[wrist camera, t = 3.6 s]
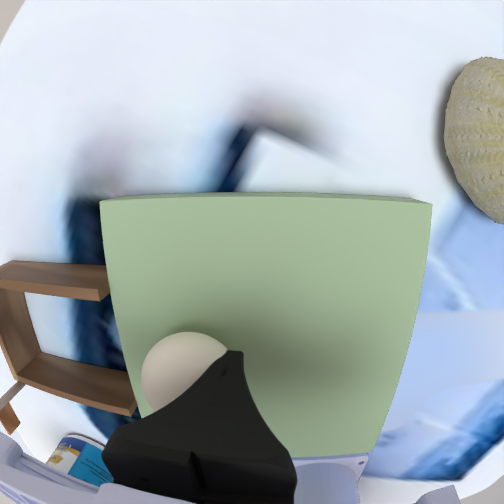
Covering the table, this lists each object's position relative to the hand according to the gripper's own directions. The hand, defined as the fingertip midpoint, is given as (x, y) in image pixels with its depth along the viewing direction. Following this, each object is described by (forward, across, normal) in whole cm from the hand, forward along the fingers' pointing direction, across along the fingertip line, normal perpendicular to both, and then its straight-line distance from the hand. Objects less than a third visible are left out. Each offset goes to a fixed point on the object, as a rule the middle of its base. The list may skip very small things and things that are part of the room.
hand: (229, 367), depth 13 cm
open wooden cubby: (+4, +11, +3) cm, 12 cm away
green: (+4, -1, +1) cm, 4 cm away
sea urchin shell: (+5, -15, -11) cm, 19 cm away
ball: (-1, +2, 0) cm, 2 cm away
